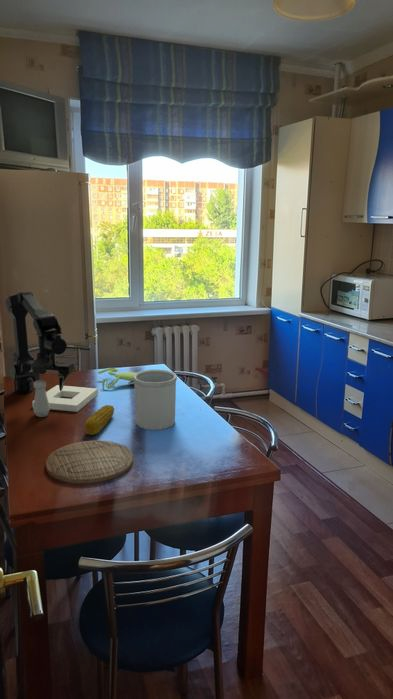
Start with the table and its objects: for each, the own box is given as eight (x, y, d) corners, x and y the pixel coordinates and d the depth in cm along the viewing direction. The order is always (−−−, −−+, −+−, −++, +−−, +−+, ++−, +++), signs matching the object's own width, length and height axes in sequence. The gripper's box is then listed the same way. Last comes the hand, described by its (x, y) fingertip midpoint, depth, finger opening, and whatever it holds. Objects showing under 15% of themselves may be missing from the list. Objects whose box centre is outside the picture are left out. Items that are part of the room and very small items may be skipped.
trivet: (40, 453, 156) (40, 448, 156) (120, 440, 166) (120, 435, 166) (53, 493, 134) (53, 486, 134) (144, 475, 144) (144, 469, 144)
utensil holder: (170, 433, 172) (170, 383, 168) (128, 428, 175) (127, 380, 171) (180, 417, 186) (181, 371, 182) (141, 413, 189) (141, 368, 185)
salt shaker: (52, 412, 188) (50, 378, 185) (46, 418, 183) (44, 383, 179) (37, 411, 189) (35, 378, 186) (30, 417, 183) (28, 383, 180)
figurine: (99, 378, 231) (98, 366, 230) (158, 377, 233) (158, 365, 232) (95, 391, 213) (94, 378, 212) (159, 390, 216) (159, 377, 214)
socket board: (32, 407, 193) (32, 401, 192) (57, 390, 212) (56, 385, 211) (77, 411, 189) (76, 405, 189) (98, 394, 208) (97, 388, 208)
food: (98, 438, 167) (98, 421, 166) (82, 437, 168) (81, 420, 166) (117, 414, 187) (116, 399, 186) (102, 413, 188) (101, 398, 187)
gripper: (11, 352, 180) (14, 394, 184) (60, 356, 177) (63, 398, 180) (27, 345, 191) (30, 385, 195) (74, 348, 187) (76, 388, 191)
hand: (49, 389), depth 190 cm, fingers open, 9 cm apart
